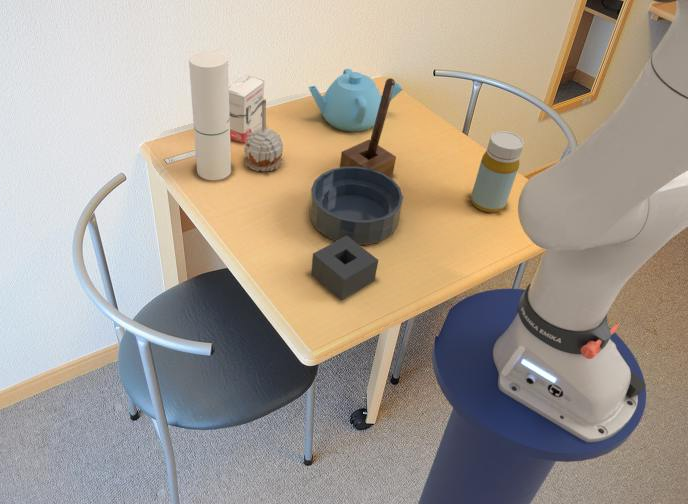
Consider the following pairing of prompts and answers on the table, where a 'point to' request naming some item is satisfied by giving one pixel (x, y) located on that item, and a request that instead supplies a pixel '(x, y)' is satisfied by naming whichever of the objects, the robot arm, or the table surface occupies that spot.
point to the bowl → (355, 204)
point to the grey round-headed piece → (263, 147)
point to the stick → (380, 118)
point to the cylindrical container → (211, 113)
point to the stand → (344, 267)
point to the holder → (380, 162)
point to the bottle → (497, 171)
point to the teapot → (351, 101)
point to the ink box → (245, 107)
